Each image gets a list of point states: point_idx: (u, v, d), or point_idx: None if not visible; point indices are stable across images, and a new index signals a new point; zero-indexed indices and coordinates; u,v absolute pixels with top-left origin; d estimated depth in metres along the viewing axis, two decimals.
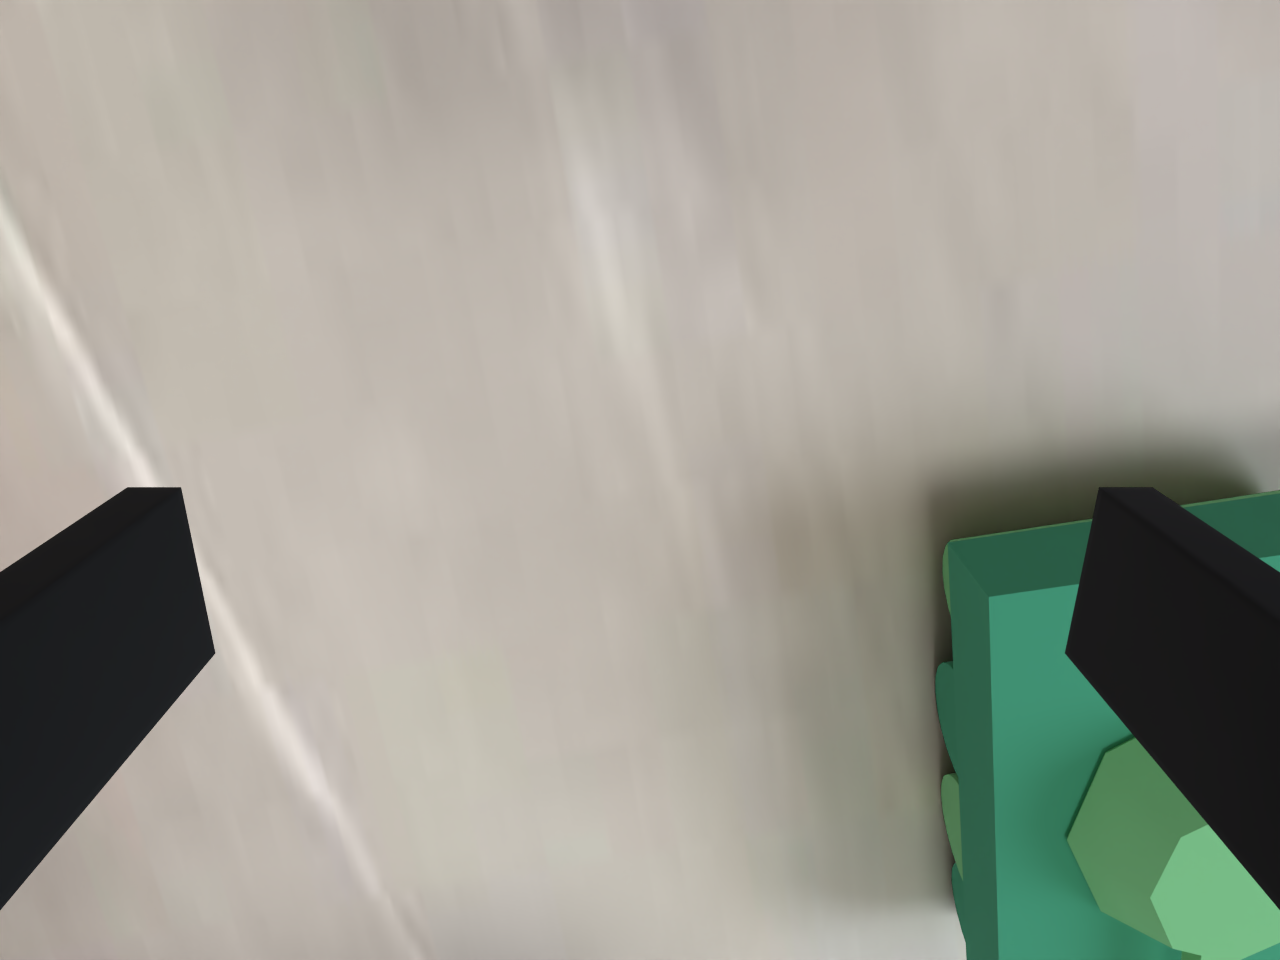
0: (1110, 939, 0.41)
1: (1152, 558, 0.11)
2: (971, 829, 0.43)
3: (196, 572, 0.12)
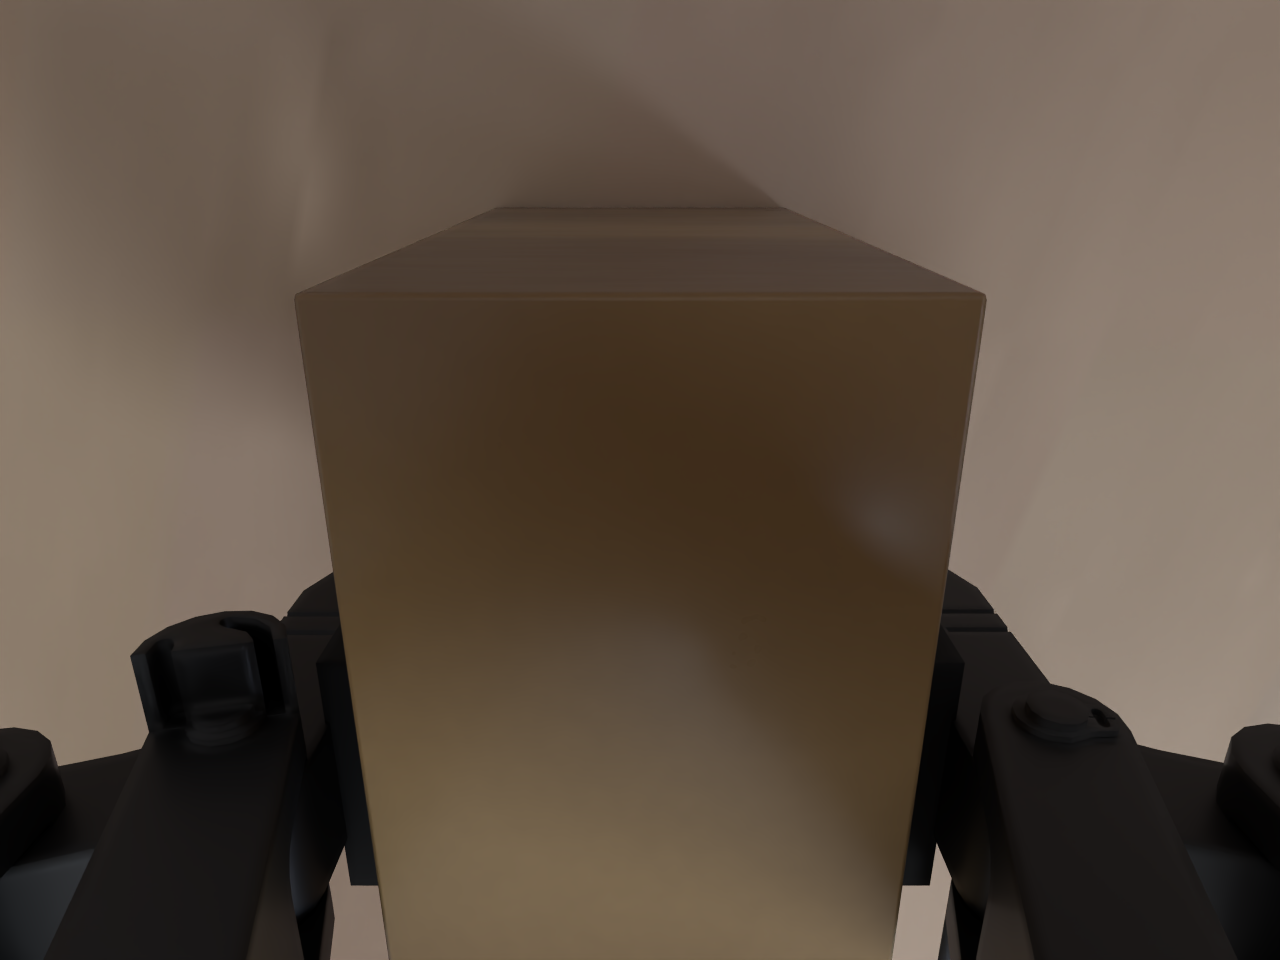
0: None
1: None
2: None
3: None
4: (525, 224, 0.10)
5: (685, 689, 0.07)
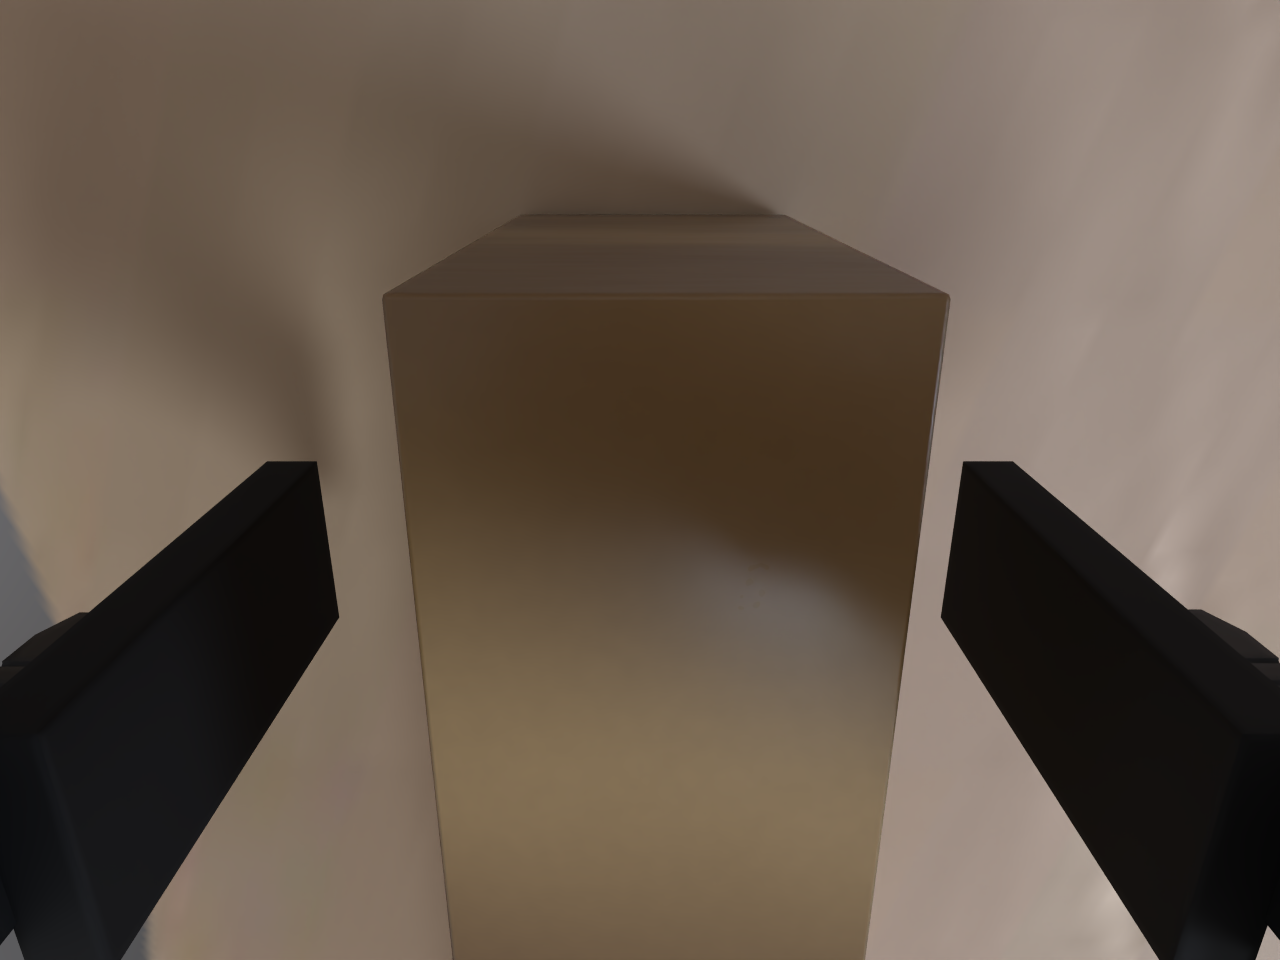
0: None
1: (997, 523, 0.12)
2: None
3: (326, 541, 0.13)
4: (553, 231, 0.12)
5: (700, 628, 0.08)
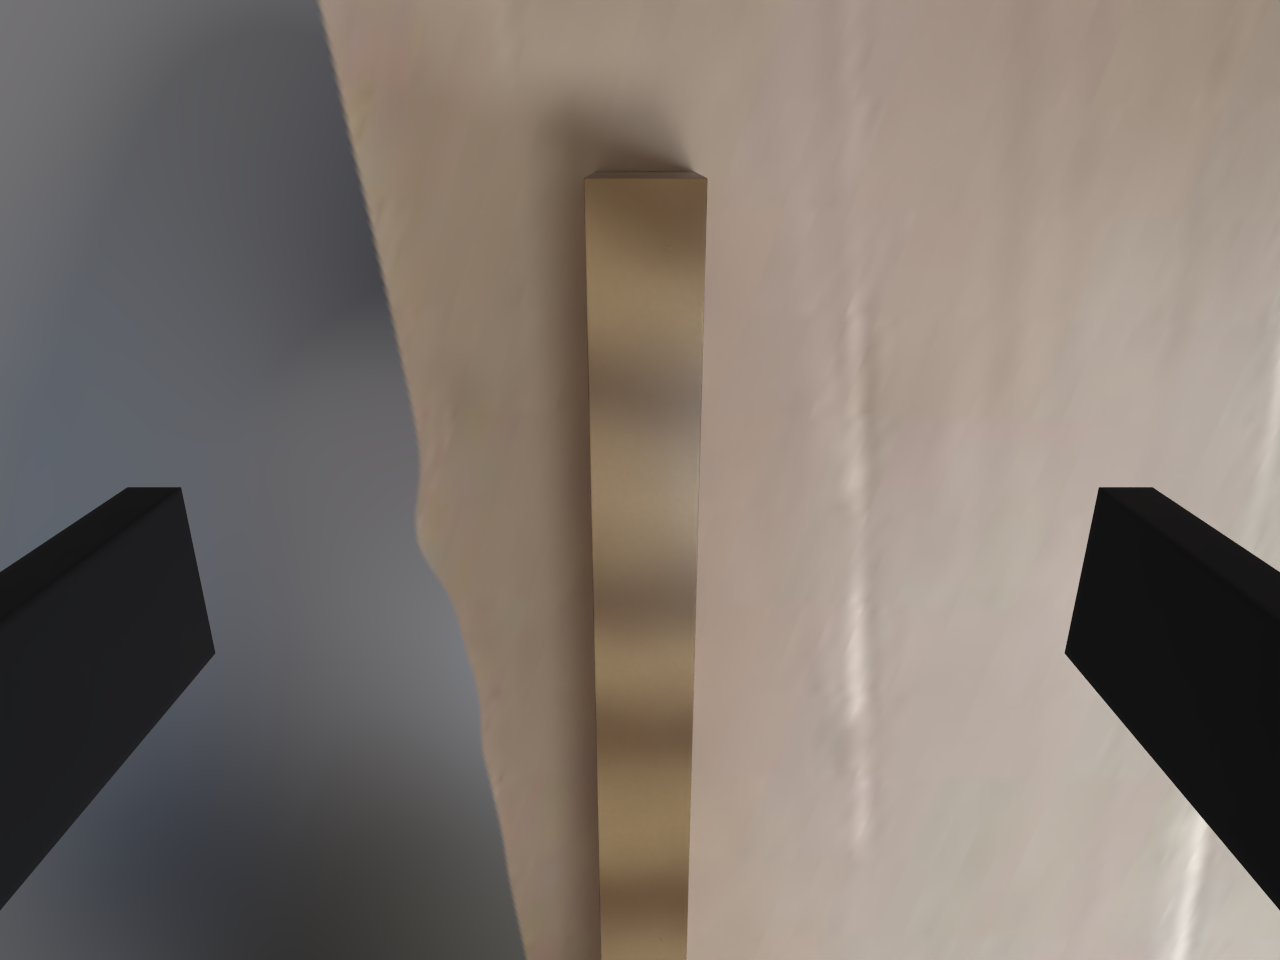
0: None
1: (1152, 558, 0.11)
2: None
3: (196, 572, 0.12)
4: (612, 173, 0.36)
5: (654, 262, 0.33)
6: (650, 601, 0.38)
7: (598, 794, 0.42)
